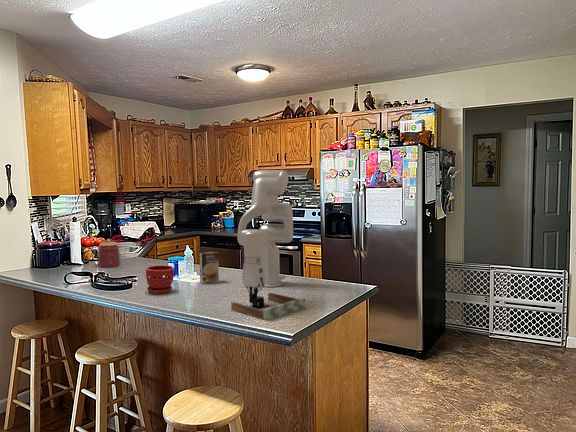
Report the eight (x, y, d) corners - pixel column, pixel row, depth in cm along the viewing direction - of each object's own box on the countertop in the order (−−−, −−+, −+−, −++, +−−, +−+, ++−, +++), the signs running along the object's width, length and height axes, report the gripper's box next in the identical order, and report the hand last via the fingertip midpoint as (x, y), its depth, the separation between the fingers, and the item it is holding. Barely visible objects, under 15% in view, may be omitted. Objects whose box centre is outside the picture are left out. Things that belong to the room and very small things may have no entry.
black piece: (262, 303, 191) (262, 293, 190) (274, 306, 186) (274, 296, 185) (241, 309, 181) (241, 298, 181) (254, 312, 176) (254, 301, 176)
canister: (116, 263, 288) (115, 237, 286) (123, 266, 278) (122, 239, 276) (95, 265, 279) (94, 238, 278) (101, 268, 269) (100, 240, 268)
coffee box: (201, 284, 225) (201, 253, 224) (199, 281, 231) (199, 252, 230) (219, 282, 229) (218, 252, 228) (216, 280, 235) (216, 251, 234)
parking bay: (270, 299, 196) (270, 290, 195) (305, 307, 182) (305, 298, 181) (231, 310, 179) (231, 300, 178) (266, 320, 165) (266, 310, 164)
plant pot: (151, 296, 202) (151, 270, 201) (142, 290, 212) (142, 266, 212) (178, 292, 209) (177, 267, 209) (168, 287, 220) (168, 263, 219)
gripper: (271, 261, 183) (271, 303, 184) (247, 257, 193) (248, 297, 194) (258, 263, 177) (258, 307, 178) (234, 259, 187) (235, 300, 189)
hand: (253, 302), depth 186 cm, fingers closed
